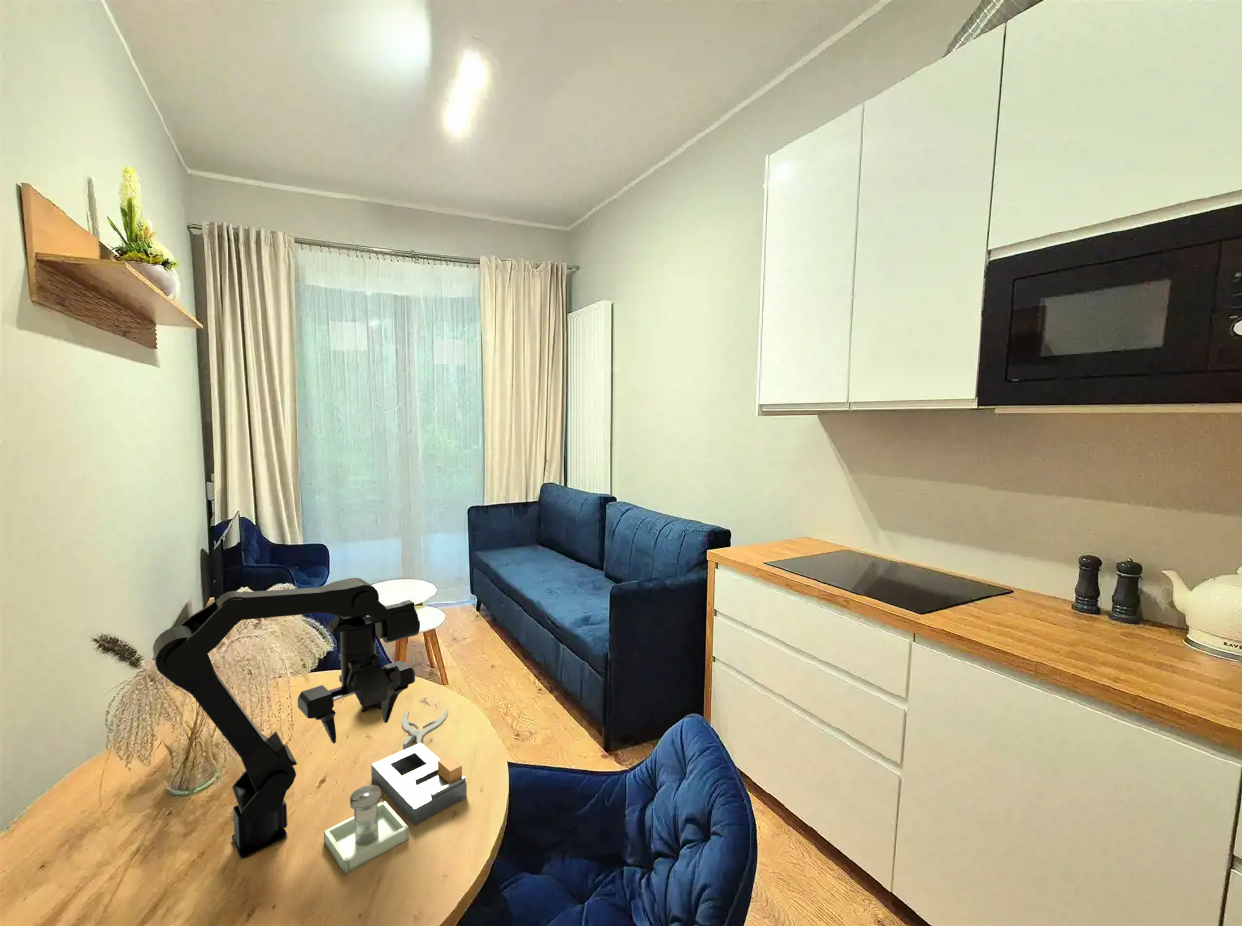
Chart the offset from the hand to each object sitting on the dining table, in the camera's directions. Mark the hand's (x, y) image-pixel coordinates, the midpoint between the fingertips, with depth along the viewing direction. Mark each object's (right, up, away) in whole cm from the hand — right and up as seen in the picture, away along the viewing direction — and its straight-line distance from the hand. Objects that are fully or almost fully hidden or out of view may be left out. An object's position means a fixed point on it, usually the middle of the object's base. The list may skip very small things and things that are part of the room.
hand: (360, 732), depth 100 cm
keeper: (+16, -9, +2) cm, 18 cm away
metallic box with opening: (+9, -12, +3) cm, 16 cm away
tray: (+6, -13, -10) cm, 17 cm away
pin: (+6, -12, -10) cm, 17 cm away
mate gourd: (-13, -10, +32) cm, 35 cm away
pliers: (+3, -11, +22) cm, 25 cm away
